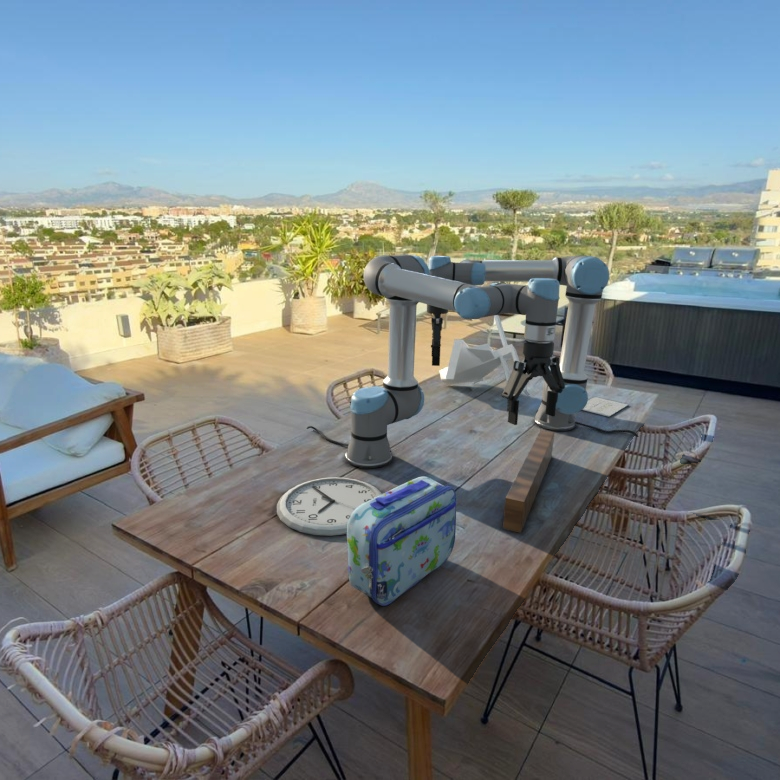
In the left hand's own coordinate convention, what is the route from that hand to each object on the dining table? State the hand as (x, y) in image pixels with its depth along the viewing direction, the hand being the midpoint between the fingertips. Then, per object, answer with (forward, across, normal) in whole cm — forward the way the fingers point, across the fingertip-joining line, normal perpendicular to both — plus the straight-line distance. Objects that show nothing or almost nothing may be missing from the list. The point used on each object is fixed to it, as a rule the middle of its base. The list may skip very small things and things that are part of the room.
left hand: (531, 419), depth 139 cm
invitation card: (+24, +89, +45) cm, 103 cm away
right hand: (-3, +8, +56) cm, 57 cm away
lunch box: (+25, -47, -12) cm, 54 cm away
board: (+25, +8, +5) cm, 26 cm away
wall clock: (+24, -48, +24) cm, 59 cm away
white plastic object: (+24, +54, +86) cm, 104 cm away
